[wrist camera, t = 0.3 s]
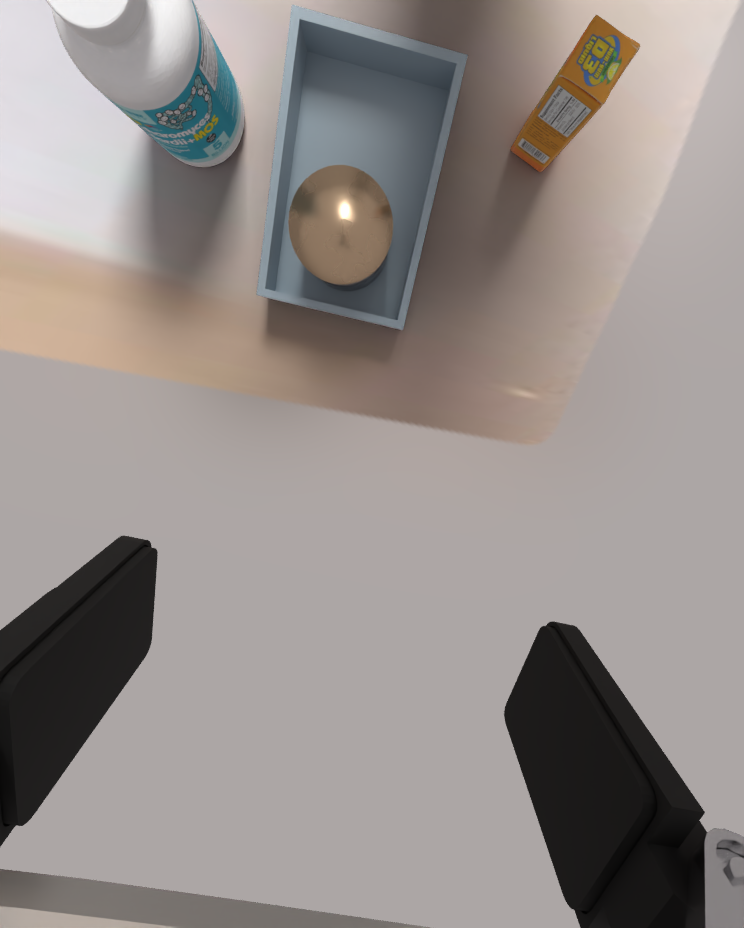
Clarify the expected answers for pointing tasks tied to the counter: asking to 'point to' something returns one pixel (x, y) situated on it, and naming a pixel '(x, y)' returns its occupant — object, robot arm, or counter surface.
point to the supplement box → (575, 93)
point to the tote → (358, 150)
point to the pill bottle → (157, 72)
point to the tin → (341, 227)
